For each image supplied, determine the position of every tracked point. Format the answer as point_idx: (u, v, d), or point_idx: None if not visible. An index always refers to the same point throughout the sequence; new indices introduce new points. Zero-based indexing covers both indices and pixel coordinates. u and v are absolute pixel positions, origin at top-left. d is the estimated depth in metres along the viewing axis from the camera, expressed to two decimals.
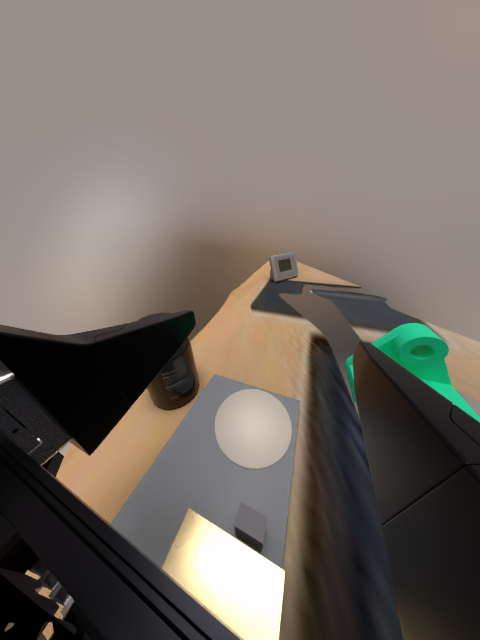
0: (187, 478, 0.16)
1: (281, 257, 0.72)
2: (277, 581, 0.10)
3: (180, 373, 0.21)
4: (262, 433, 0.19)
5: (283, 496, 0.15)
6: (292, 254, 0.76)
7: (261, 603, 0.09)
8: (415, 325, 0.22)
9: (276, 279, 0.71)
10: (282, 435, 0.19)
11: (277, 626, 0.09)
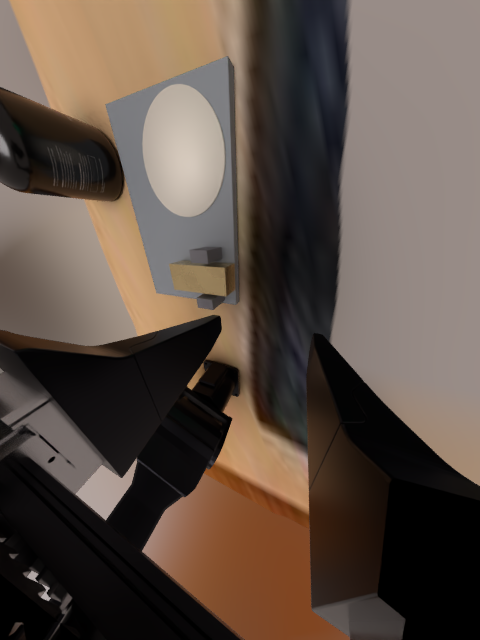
0: (166, 243, 0.21)
1: None
2: (221, 272, 0.17)
3: (65, 164, 0.15)
4: (195, 171, 0.16)
5: (228, 222, 0.17)
6: None
7: (216, 281, 0.18)
8: None
9: None
10: (214, 159, 0.15)
11: (225, 285, 0.18)
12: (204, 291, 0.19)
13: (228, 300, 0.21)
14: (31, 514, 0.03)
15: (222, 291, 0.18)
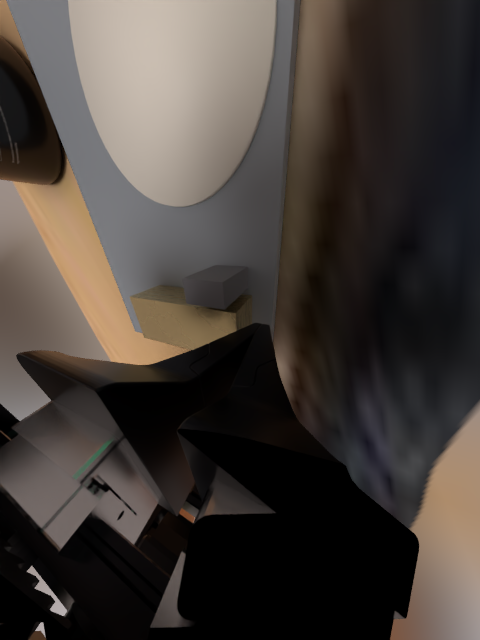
0: (144, 257, 0.12)
1: None
2: (229, 321, 0.08)
3: None
4: (193, 91, 0.06)
5: (268, 214, 0.08)
6: None
7: (218, 336, 0.09)
8: None
9: None
10: (245, 42, 0.05)
11: None
12: (195, 348, 0.10)
13: None
14: (126, 617, 0.02)
15: None
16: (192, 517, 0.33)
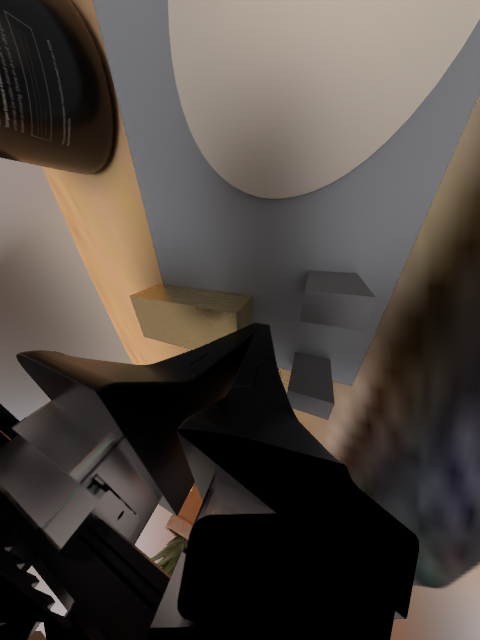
0: (208, 259, 0.10)
1: None
2: (229, 321, 0.08)
3: None
4: (347, 38, 0.05)
5: (411, 208, 0.06)
6: None
7: (218, 335, 0.09)
8: None
9: None
10: None
11: None
12: (195, 347, 0.10)
13: (334, 376, 0.10)
14: (126, 616, 0.02)
15: None
16: None
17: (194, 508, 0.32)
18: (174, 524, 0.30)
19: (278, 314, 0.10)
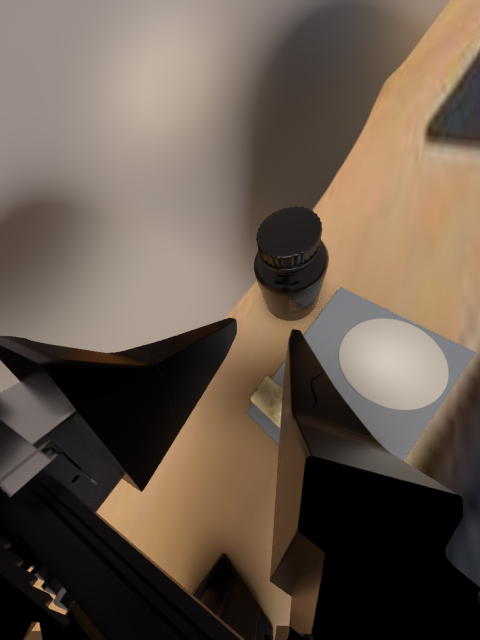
0: None
1: None
2: None
3: (309, 298, 0.17)
4: (400, 377, 0.17)
5: (410, 437, 0.15)
6: None
7: None
8: None
9: None
10: (428, 388, 0.16)
11: None
12: None
13: None
14: (61, 547, 0.03)
15: None
16: None
17: None
18: None
19: None
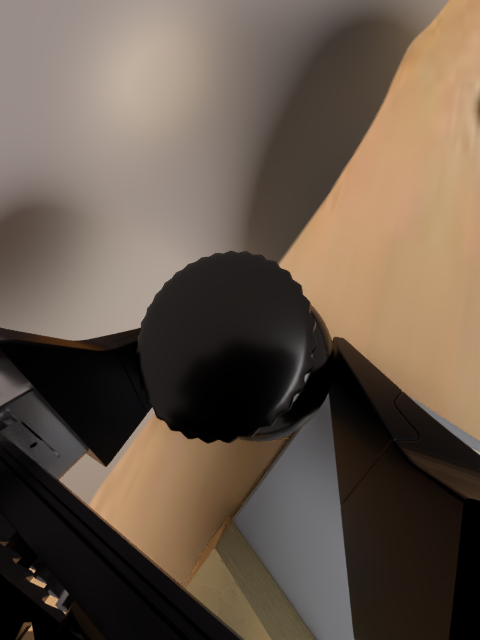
0: (300, 562, 0.10)
1: None
2: None
3: None
4: None
5: None
6: None
7: None
8: None
9: None
10: None
11: None
12: None
13: None
14: (9, 490, 0.03)
15: None
16: None
17: None
18: None
19: None
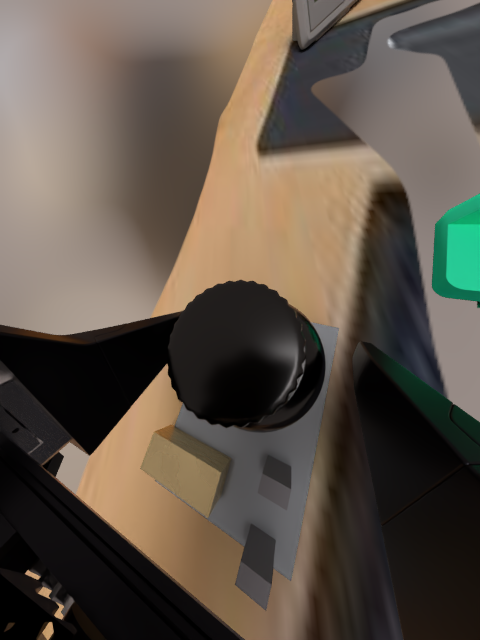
0: None
1: None
2: (215, 477, 0.13)
3: None
4: None
5: (310, 441, 0.14)
6: None
7: (202, 487, 0.13)
8: None
9: (305, 37, 0.31)
10: None
11: (212, 498, 0.13)
12: (179, 493, 0.13)
13: (278, 563, 0.12)
14: None
15: (204, 506, 0.13)
16: None
17: None
18: None
19: (245, 480, 0.14)
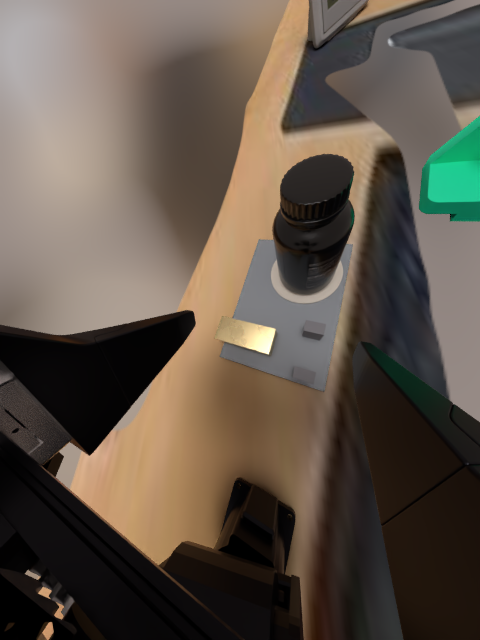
0: (261, 315, 0.23)
1: None
2: (271, 332, 0.19)
3: (330, 263, 0.16)
4: None
5: (334, 314, 0.20)
6: None
7: (263, 338, 0.19)
8: None
9: (319, 38, 0.38)
10: (333, 277, 0.21)
11: (270, 343, 0.19)
12: (246, 345, 0.20)
13: (315, 384, 0.19)
14: None
15: (265, 348, 0.19)
16: None
17: None
18: None
19: (288, 344, 0.21)
